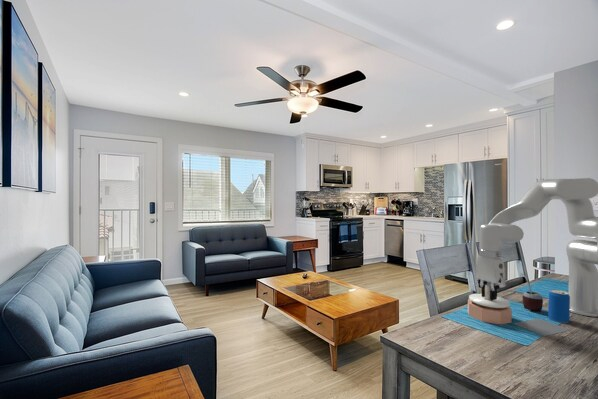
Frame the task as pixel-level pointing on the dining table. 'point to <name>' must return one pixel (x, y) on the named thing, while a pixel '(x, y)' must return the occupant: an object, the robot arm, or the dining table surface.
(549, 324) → the mat
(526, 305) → the mate gourd
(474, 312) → the octagonal ring frame
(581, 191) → the robot arm
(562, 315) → the beverage can
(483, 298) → the lid
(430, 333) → the dining table surface
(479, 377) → the dining table surface
